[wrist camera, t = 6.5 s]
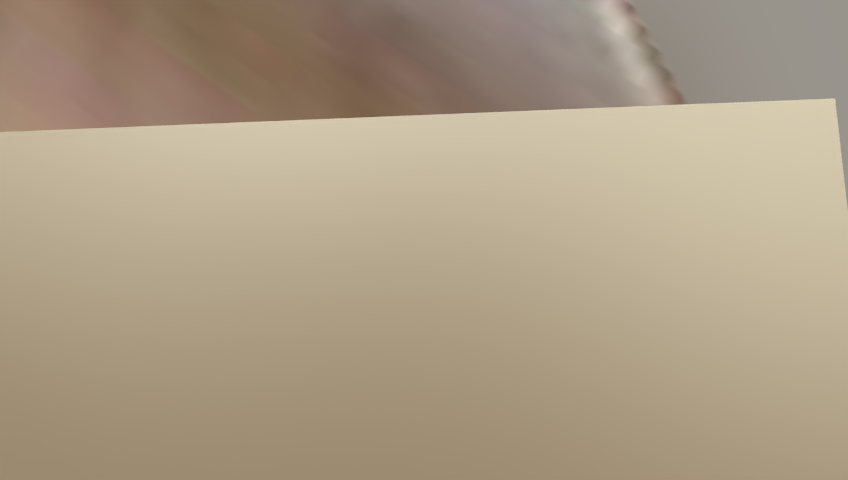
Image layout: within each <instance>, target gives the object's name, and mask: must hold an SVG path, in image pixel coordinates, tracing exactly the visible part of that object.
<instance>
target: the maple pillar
mask: <svg viewBox="0 0 848 480" xmlns="http://www.w3.org/2000/svg"><path fill="white" fill-rule="evenodd" d="M836 113H837V112H836V104H835V99H814V100H813V99H812V100H789V101H763V102H739V103H714V104H688V105H664V106H639V107H614V108H589V109H564V110H540V111H515V112H490V113H465V114H440V115H416V116H391V117H366V118H341V119H316V120H292V121H267V122H242V123H217V124H192V125H168V126H143V127H118V128H93V129H68V130H44V131H19V132H0V480H848V209H847V201H846V192H845V183H844V174H843V166H842V156H841V148H840V139H839V130H838V121H837V114H836Z"/></svg>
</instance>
